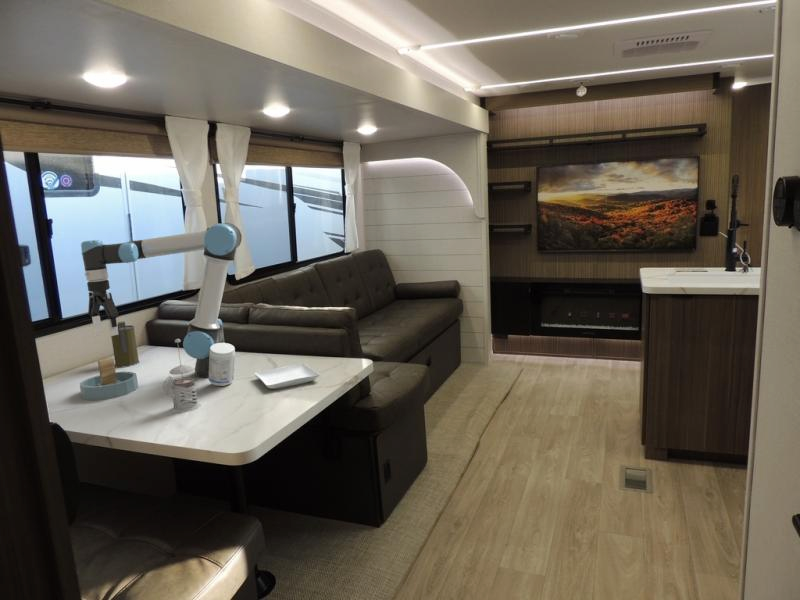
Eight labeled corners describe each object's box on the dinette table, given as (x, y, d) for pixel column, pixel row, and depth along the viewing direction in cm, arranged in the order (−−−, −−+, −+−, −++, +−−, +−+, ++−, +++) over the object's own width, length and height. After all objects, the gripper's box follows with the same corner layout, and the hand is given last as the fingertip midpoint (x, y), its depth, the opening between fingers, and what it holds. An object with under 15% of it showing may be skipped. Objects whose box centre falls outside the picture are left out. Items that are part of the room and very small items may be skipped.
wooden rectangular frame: (117, 387, 232) (113, 358, 230) (105, 391, 228) (100, 361, 226) (115, 386, 233) (110, 357, 231) (102, 390, 229) (97, 360, 227)
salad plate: (254, 380, 235) (253, 371, 234) (304, 370, 244) (303, 362, 244) (267, 393, 216) (266, 385, 216) (321, 382, 226) (320, 374, 225)
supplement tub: (217, 372, 236) (219, 340, 231) (238, 379, 234) (240, 346, 229) (203, 382, 228) (204, 348, 222) (224, 389, 225) (225, 355, 220)
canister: (115, 363, 274) (109, 322, 271) (139, 359, 279) (133, 318, 275) (114, 368, 265) (108, 325, 261) (139, 364, 269) (133, 322, 265)
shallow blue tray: (147, 388, 232) (145, 376, 231) (95, 403, 217) (93, 390, 216) (123, 380, 245) (122, 369, 244) (73, 394, 229) (71, 382, 229)
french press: (205, 406, 206) (197, 337, 201) (173, 416, 198) (164, 344, 194) (193, 400, 213) (184, 334, 208) (161, 410, 205) (152, 341, 201)
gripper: (73, 280, 230) (82, 333, 234) (102, 282, 215) (112, 338, 218) (92, 278, 236) (101, 329, 239) (122, 279, 220) (131, 334, 224)
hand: (106, 333), depth 229 cm, fingers open, 13 cm apart
